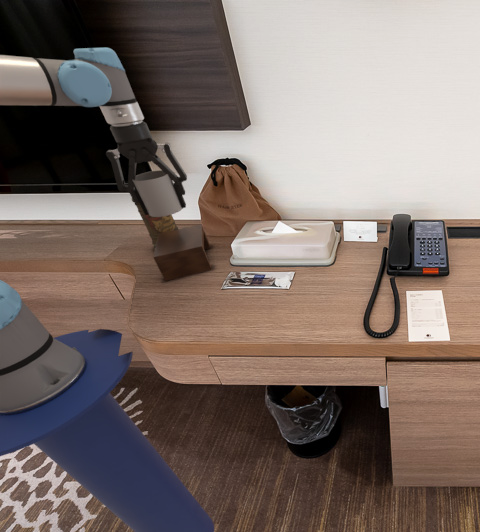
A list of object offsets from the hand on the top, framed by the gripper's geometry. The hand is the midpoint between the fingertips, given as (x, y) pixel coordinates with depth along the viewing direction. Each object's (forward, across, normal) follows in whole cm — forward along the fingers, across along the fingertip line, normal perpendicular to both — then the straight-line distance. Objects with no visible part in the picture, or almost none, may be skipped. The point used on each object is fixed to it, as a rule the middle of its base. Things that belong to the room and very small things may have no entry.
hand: (166, 209), depth 95 cm
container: (+18, -6, +15) cm, 24 cm away
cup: (+1, 0, 0) cm, 1 cm away
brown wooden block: (+18, 0, 0) cm, 18 cm away
